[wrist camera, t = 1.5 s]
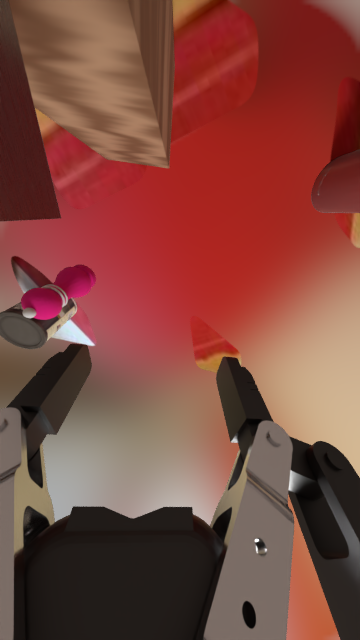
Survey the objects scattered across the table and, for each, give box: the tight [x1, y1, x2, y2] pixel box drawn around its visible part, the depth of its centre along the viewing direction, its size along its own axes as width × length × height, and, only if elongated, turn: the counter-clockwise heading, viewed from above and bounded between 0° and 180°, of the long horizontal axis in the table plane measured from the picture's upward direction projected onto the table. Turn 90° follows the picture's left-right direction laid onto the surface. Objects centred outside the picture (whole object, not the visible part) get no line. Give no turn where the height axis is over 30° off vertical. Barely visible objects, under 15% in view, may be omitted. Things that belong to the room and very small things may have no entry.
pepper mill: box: [21, 265, 96, 320], centre depth 36 cm, size 7×7×20 cm
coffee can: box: [0, 298, 77, 349], centre depth 43 cm, size 10×10×14 cm
